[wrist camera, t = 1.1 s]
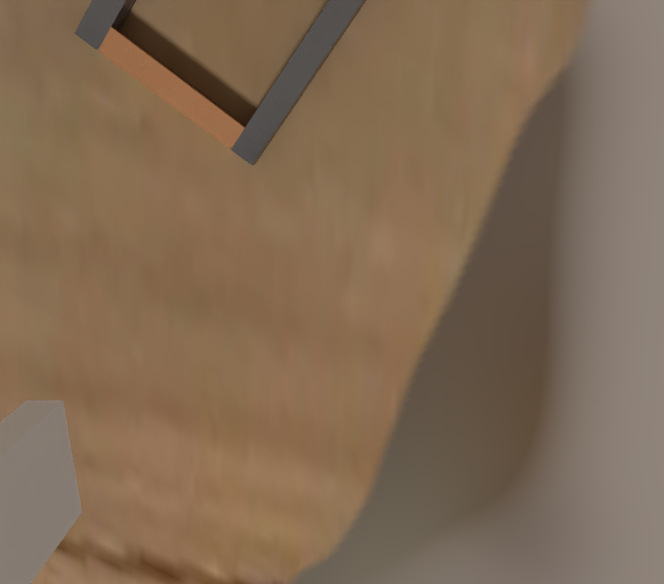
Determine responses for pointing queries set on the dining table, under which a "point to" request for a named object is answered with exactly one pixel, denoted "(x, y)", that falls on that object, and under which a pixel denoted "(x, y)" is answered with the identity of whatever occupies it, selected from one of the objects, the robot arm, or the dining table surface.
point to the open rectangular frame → (247, 142)
